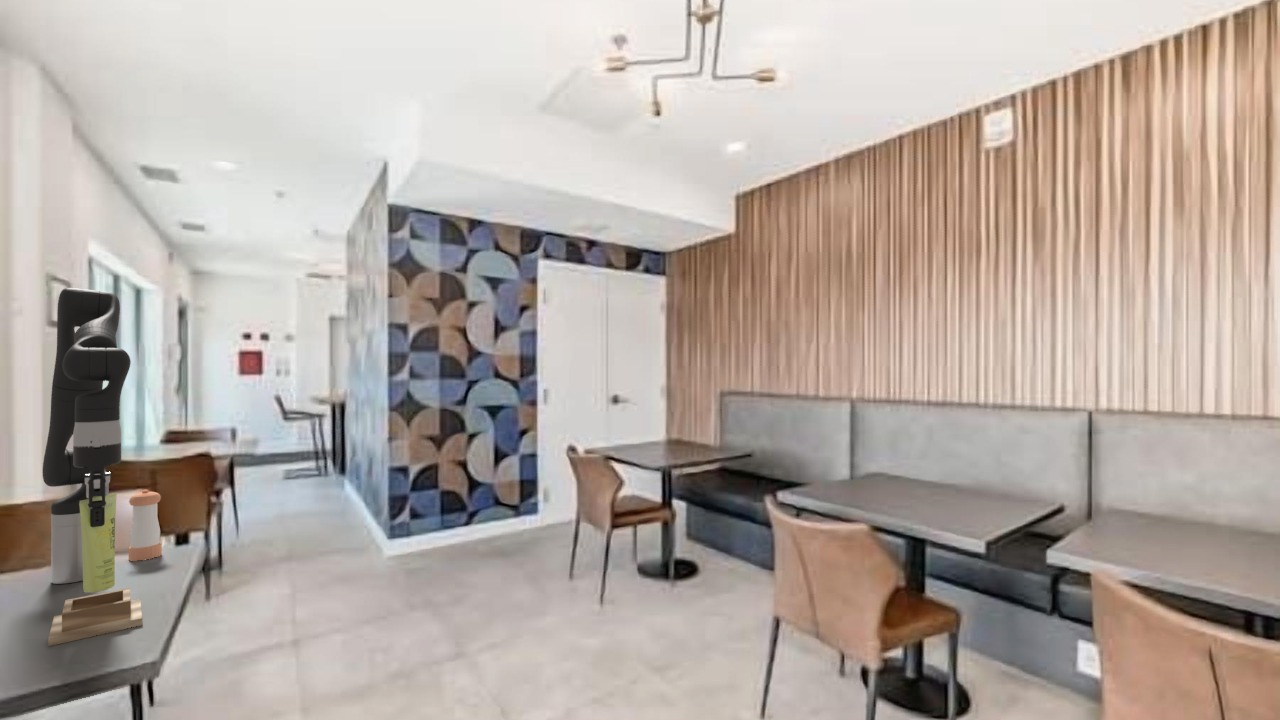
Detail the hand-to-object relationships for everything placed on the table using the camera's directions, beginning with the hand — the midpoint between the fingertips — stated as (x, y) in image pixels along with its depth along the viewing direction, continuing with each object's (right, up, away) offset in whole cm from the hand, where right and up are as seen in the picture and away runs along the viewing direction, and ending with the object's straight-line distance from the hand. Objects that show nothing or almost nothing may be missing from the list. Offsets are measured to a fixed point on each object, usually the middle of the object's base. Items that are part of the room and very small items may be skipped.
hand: (97, 523), depth 127 cm
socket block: (0, -21, 0) cm, 21 cm away
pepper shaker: (-27, -22, +45) cm, 57 cm away
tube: (0, -14, 0) cm, 14 cm away
